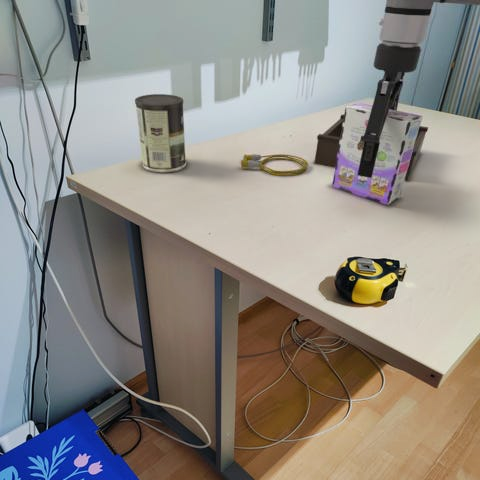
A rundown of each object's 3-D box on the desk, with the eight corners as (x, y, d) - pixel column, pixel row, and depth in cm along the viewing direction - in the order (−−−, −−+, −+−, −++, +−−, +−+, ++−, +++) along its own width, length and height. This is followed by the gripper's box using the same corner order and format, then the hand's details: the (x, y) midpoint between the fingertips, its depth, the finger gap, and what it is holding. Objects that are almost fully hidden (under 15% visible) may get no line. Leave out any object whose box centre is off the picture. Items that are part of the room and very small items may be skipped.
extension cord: (253, 153, 108) (253, 145, 107) (312, 163, 104) (314, 155, 103) (235, 168, 99) (235, 160, 98) (299, 180, 95) (300, 171, 94)
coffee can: (179, 155, 105) (175, 92, 96) (191, 170, 98) (189, 103, 89) (137, 159, 102) (130, 94, 93) (147, 175, 94) (140, 106, 85)
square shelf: (420, 153, 113) (428, 127, 109) (408, 181, 97) (416, 152, 93) (337, 139, 120) (342, 114, 116) (313, 163, 104) (317, 135, 100)
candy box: (400, 198, 89) (424, 115, 79) (387, 206, 86) (410, 120, 76) (344, 180, 96) (360, 100, 86) (330, 186, 93) (344, 105, 83)
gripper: (390, 35, 84) (366, 145, 97) (362, 49, 66) (338, 181, 80) (430, 38, 81) (399, 151, 95) (412, 54, 64) (378, 189, 77)
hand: (371, 165), depth 87 cm, fingers open, 13 cm apart
